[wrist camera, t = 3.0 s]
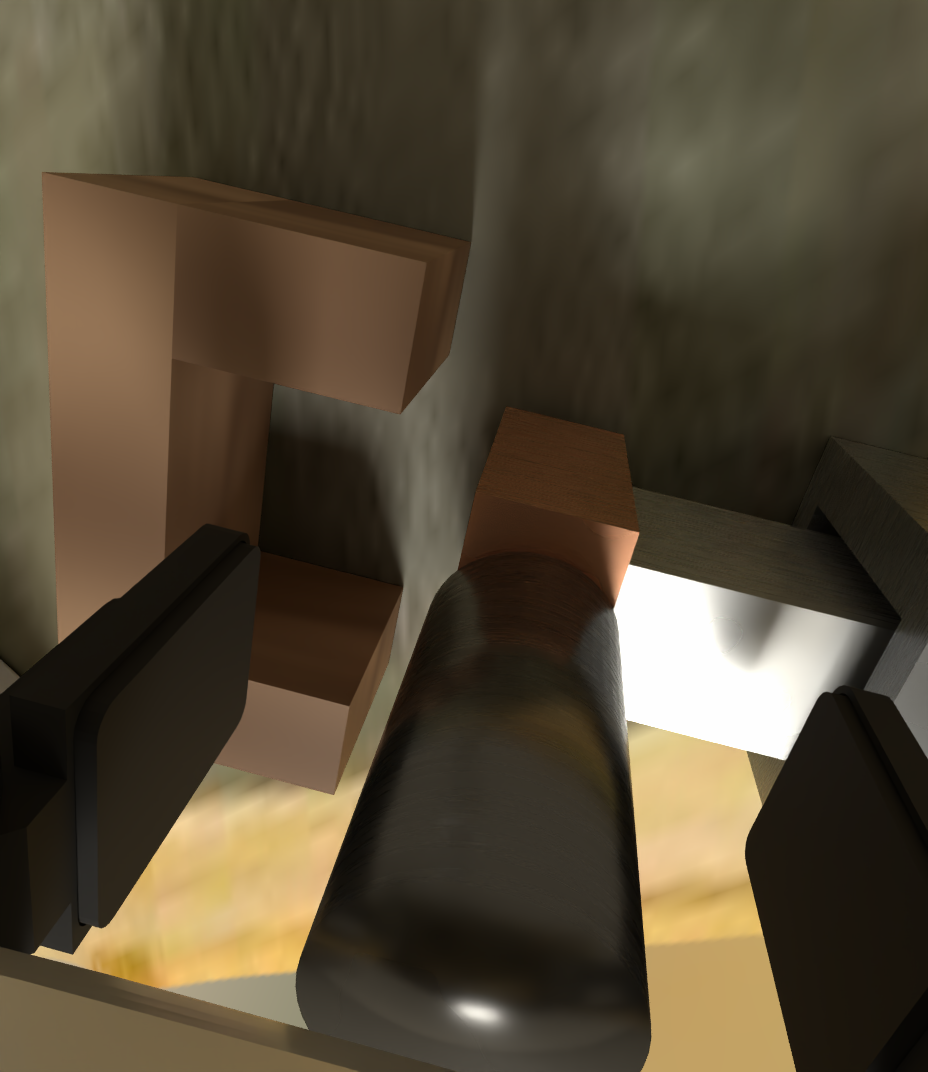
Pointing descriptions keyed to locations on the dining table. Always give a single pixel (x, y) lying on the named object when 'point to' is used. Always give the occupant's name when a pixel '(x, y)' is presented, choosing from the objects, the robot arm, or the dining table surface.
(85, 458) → the socket
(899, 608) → the sleeve
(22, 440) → the dining table surface
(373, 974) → the slip bolt
